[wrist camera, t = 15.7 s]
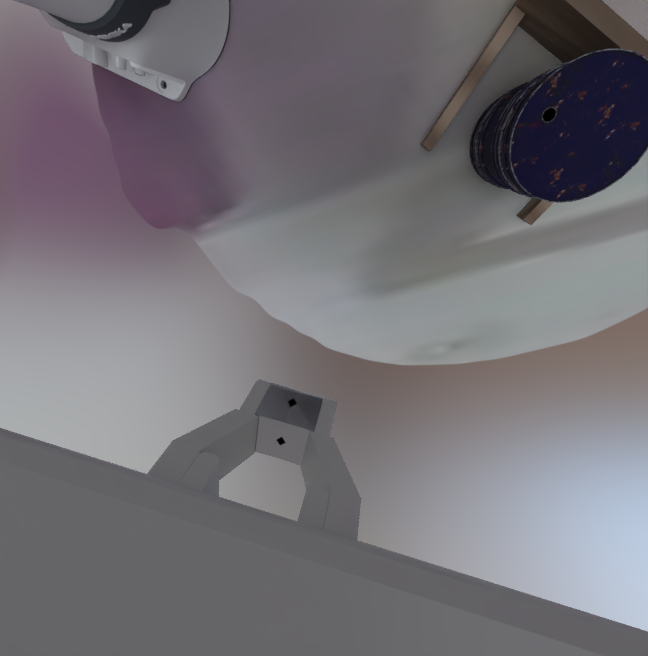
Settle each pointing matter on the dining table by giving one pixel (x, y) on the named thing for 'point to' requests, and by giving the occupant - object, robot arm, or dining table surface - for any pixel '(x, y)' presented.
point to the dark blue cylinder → (567, 128)
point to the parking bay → (560, 39)
